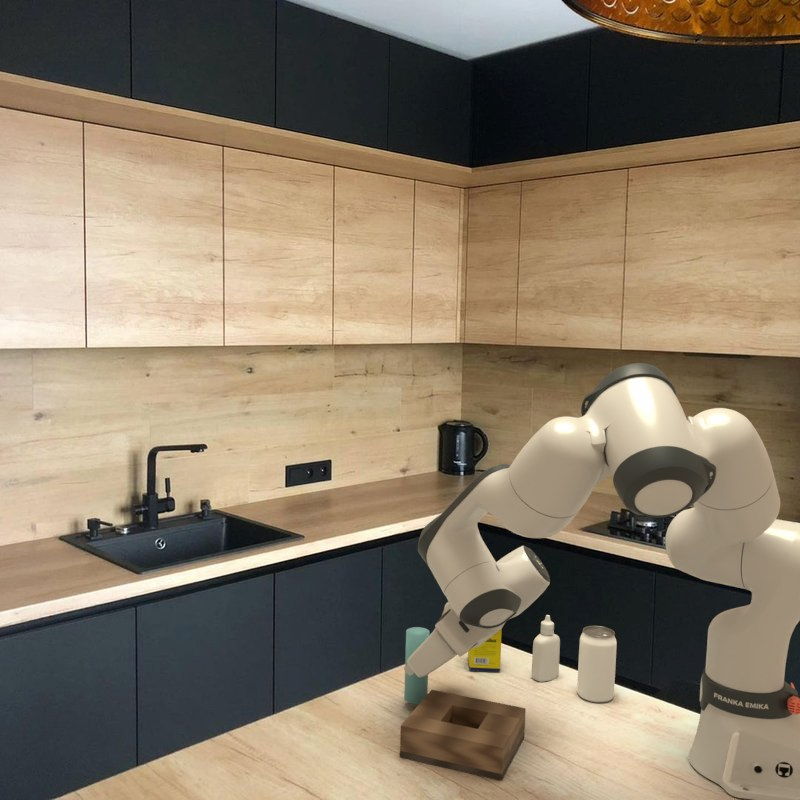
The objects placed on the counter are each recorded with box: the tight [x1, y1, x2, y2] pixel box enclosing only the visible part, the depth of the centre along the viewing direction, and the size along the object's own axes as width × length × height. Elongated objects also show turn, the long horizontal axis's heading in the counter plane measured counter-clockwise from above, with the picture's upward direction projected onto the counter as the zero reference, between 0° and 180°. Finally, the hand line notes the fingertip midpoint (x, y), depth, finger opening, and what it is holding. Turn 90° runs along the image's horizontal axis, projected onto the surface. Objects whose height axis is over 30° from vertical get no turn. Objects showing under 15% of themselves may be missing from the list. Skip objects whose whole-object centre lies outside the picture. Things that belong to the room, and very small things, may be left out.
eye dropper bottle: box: [531, 614, 561, 683], centre depth 161 cm, size 4×6×12 cm
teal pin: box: [403, 626, 430, 705], centre depth 148 cm, size 4×4×12 cm
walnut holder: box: [399, 689, 527, 782], centre depth 134 cm, size 16×14×5 cm
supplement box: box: [467, 627, 503, 673], centre depth 166 cm, size 6×6×11 cm
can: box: [576, 625, 617, 704], centre depth 154 cm, size 6×6×12 cm
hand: (413, 665), depth 148 cm, fingers closed on teal pin, 4 cm apart
